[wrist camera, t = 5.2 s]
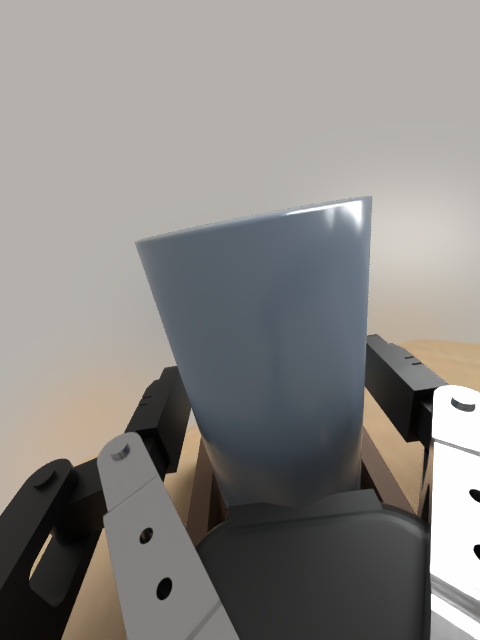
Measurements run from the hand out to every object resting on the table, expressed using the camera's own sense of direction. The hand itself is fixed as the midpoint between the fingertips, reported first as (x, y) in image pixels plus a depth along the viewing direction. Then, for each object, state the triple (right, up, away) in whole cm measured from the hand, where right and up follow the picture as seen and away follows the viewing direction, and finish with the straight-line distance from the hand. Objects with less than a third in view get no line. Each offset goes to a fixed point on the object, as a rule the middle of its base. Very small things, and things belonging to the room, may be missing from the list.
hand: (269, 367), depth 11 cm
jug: (+2, -9, +4) cm, 10 cm away
